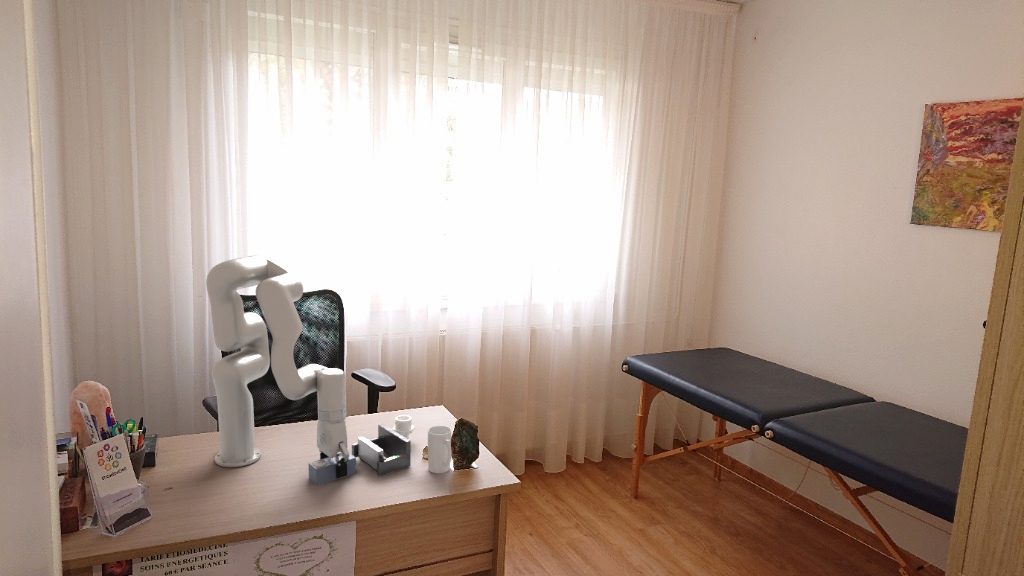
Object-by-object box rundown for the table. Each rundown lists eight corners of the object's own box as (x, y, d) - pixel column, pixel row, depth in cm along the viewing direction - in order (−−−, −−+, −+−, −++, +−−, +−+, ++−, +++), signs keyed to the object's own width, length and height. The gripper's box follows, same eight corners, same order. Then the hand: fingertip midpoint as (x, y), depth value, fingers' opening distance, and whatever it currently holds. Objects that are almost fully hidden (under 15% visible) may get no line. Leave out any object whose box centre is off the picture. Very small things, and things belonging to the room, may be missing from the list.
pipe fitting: (402, 435, 214) (402, 412, 212) (418, 441, 210) (418, 417, 208) (388, 441, 209) (388, 418, 207) (404, 448, 204) (404, 423, 203)
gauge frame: (379, 476, 186) (378, 450, 184) (351, 456, 197) (351, 431, 196) (410, 466, 192) (410, 440, 191) (382, 447, 204) (382, 423, 203)
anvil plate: (383, 474, 186) (383, 454, 185) (358, 456, 196) (358, 437, 195) (388, 472, 187) (388, 453, 186) (363, 455, 197) (362, 436, 196)
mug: (423, 466, 192) (423, 428, 190) (443, 461, 196) (444, 423, 194) (439, 480, 184) (440, 440, 182) (460, 475, 188) (461, 435, 186)
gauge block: (308, 479, 183) (308, 462, 182) (354, 466, 192) (354, 449, 191) (316, 486, 179) (316, 468, 178) (362, 472, 188) (362, 455, 187)
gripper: (305, 407, 185) (307, 463, 189) (333, 426, 173) (335, 486, 176) (330, 401, 190) (332, 456, 193) (359, 419, 178) (360, 478, 181)
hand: (333, 471), depth 185 cm, fingers open, 9 cm apart
